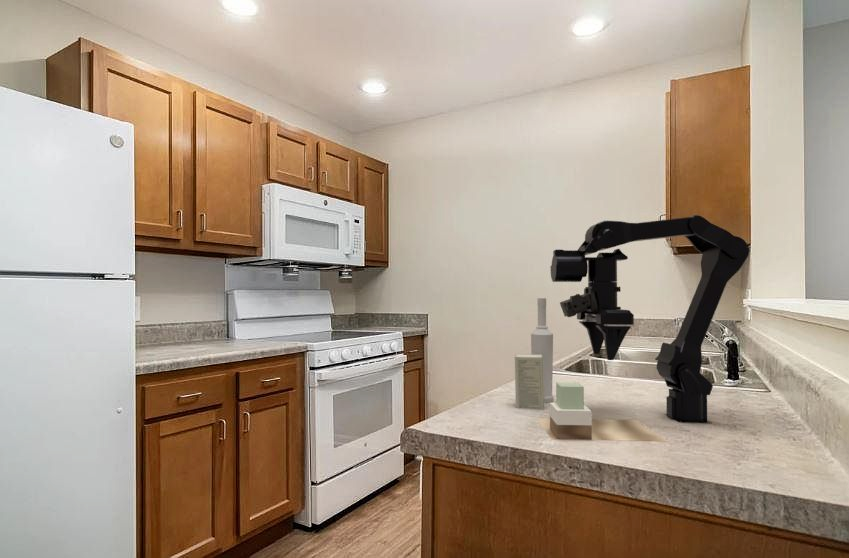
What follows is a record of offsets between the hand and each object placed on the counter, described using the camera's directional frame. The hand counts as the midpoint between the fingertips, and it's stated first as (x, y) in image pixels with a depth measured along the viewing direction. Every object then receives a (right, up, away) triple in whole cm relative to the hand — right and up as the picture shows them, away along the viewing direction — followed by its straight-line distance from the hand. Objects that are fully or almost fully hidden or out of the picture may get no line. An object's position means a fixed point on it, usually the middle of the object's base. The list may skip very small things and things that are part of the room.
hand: (603, 356), depth 99 cm
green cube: (-11, -7, -13) cm, 18 cm away
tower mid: (-11, -10, -13) cm, 19 cm away
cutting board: (-4, -13, -9) cm, 16 cm away
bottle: (-9, -14, +14) cm, 22 cm away
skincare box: (-13, -13, +8) cm, 21 cm away
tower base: (-11, -12, -13) cm, 21 cm away
